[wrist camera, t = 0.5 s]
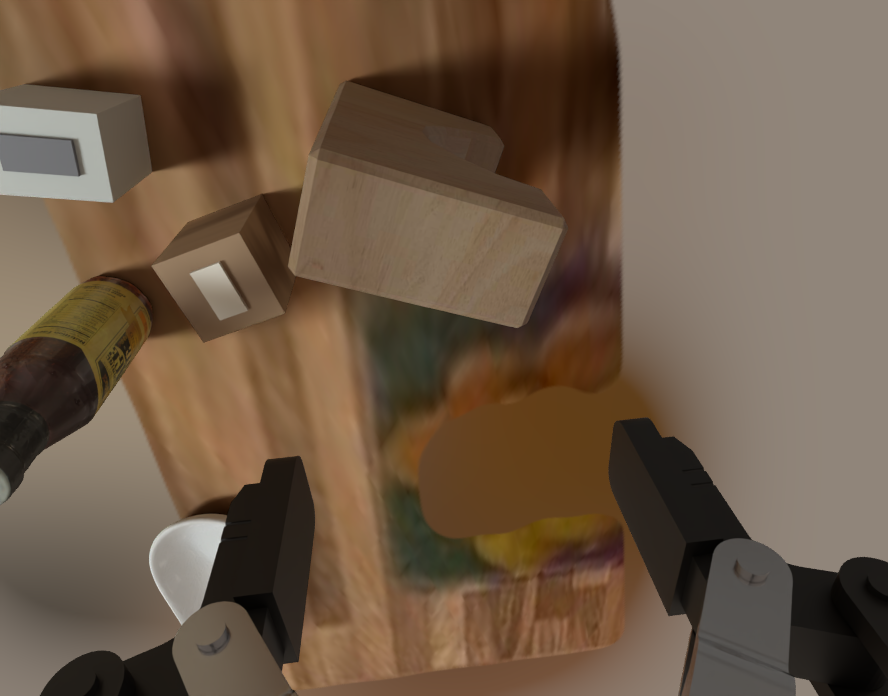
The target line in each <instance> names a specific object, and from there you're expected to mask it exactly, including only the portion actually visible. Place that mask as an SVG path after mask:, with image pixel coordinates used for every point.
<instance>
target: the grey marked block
mask: <svg viewBox="0 0 888 696" xmlns="http://www.w3.org/2000/svg"><path fill="white" fill-rule="evenodd" d="M150 173H152V166H151V160H150V153H149V147H148V140H147V134H146V127H145V121H144V114H143V108H142V101H141V95H134V94H123V93H113V92H102V91H91V90H81V89H70V88H60V87H49V86H38V85H28V84H24V85H20V86H16V87H12V88H8V89H4V90H0V194H1V195H15V196H30V197H43V198H57V199H71V200H85V201H100V202H115V201H116V200H117V199H118V198H120V197H121V196H122V195H123V194H125V193H126V192H127V191H129V190H130V189H131V188H132V187H134V186H135V185H136V184H138V183H139V182H140V181H141V180H143V179H144V178H145V177H146V176H148V175H149V174H150Z"/></svg>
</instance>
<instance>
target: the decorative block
mask: <svg viewBox="0 0 888 696" xmlns="http://www.w3.org/2000/svg"><path fill="white" fill-rule="evenodd" d="M503 148H504V144H503V142H502V140H501V139H500V138H499V136H498V135H497V134H496V133H495V131H494V130H493V129H492V128H491V127H490V126H487V125H484V124H481V123H478V122H475V121H472V120H469V119H465V118H462V117H459V116H456V115H453V114H450V113H447V112H443V111H440V110H437V109H434V108H431V107H428V106H425V105H422V104H418V103H415V102H412V101H409V100H406V99H403V98H400V97H396V96H393V95H390V94H387V93H384V92H381V91H378V90H374V89H371V88H368V87H365V86H362V85H359V84H356V83H352V82H349V81H345V82H343V83H342V84H340V85H339V88H338V90H337V92H336V95H335V97H334V99H333V101H332V103H331V106H330V108H329V110H328V112H327V115H326V117H325V119H324V122H323V124H322V126H321V129H320V131H319V133H318V135H317V138H316V140H315V142H314V144H313V146H312V149H311V151H310V153H309V157H308V162H307V167H306V173H305V178H304V183H303V188H302V194H301V199H300V204H299V210H298V215H297V220H296V226H295V231H294V236H293V242H292V247H291V252H290V257H289V263H288V267H289V269H290V270H291V271H292V273H293V274H294V275H295V276H298V277H302V278H306V279H310V280H315V281H319V282H323V283H327V284H331V285H336V286H340V287H344V288H348V289H352V290H357V291H361V292H365V293H369V294H374V295H378V296H382V297H386V298H390V299H395V300H399V301H403V302H407V303H412V304H416V305H420V306H424V307H429V308H433V309H437V310H442V311H446V312H450V313H455V314H459V315H463V316H467V317H472V318H476V319H480V320H485V321H489V322H493V323H498V324H502V325H506V326H511V327H515V328H518V327H520V326H523V325H525V324H527V322H528V320H529V318H530V315H531V313H532V311H533V309H534V306H535V304H536V302H537V299H538V297H539V295H540V292H541V290H542V288H543V285H544V283H545V281H546V279H547V276H548V274H549V272H550V269H551V267H552V265H553V262H554V260H555V258H556V255H557V253H558V251H559V249H560V246H561V244H562V242H563V239H564V237H565V235H566V232H567V230H568V227H567V224H566V222H565V220H564V218H563V216H562V215H561V214H560V213H559V211H558V210H557V209H556V208H555V206H554V205H553V204H552V203H551V201H550V200H549V199H548V198H547V196H546V195H545V194H544V193H543V191H542V190H541V189H538V188H535V187H532V186H529V185H527V184H524V183H521V182H518V181H515V180H512V179H509V178H506V177H504V176H501V175H498V174H495V171H496V168H497V166H498V163H499V160H500V157H501V154H502V151H503Z"/></svg>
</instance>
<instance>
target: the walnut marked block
mask: <svg viewBox="0 0 888 696" xmlns="http://www.w3.org/2000/svg"><path fill="white" fill-rule="evenodd" d="M290 252H291V248H290V246H289V244H288V243H287V241H286V239H285V237H284V235H283V233H282V231H281V229H280V227H279V225H278V223H277V222H276V220H275V218H274V216H273V214H272V212H271V210H270V208H269V206H268V204H267V203H266V201H265V199H264V197H263V195H262V194H260V195H258V196H255V197H253V198H250V199H247V200H245V201H242V202H239V203H237V204H234V205H232V206H229V207H226V208H224V209H221V210H218V211H216V212H213V213H211V214H208V215H205V216H203V217H200V218H198V219H195V220H192V221H190V222H188V223H187V224H186V225H185V226H184V227H183V229H182V230H181V231H180V232H179V233H178V235H177V236H176V237H175V238H174V239H173V241H172V242H171V243H170V244H169V245H168V247H167V248H166V249H165V250H164V251H163V252H162V254H161V255H160V256H159V257H158V258H157V260H156V261H155V262H154V263H153V264H152V268H153V269H154V271H155V272H156V273H157V275H158V276H159V278H160V279H161V281H162V282H163V284H164V285H165V287H166V288H167V290H168V291H169V293H170V294H171V295H172V297H173V298H174V300H175V301H176V303H177V304H178V306H179V307H180V309H181V310H182V312H183V313H184V315H185V316H186V317H187V319H188V320H189V322H190V323H191V325H192V326H193V328H194V329H195V331H196V332H197V334H198V335H199V337H200V338H201V340H202V341H203V342H207V341H210V340H212V339H215V338H218V337H221V336H224V335H226V334H229V333H232V332H235V331H238V330H240V329H243V328H246V327H249V326H251V325H254V324H257V323H260V322H263V321H265V320H268V319H271V318H274V317H277V316H279V315H282V314H285V312H286V309H287V305H288V302H289V298H290V295H291V292H292V288H293V285H294V282H295V278H296V276H295V275H294V274H293V273H292V271H291V270H290V269H289V267H288V263H289V257H290Z"/></svg>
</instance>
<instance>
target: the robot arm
mask: <svg viewBox="0 0 888 696" xmlns="http://www.w3.org/2000/svg"><path fill="white" fill-rule="evenodd" d="M609 480H610V485H611V488H612V492H613V494H614V496H615V499H616V501H617V503H618V505H619V508H620V510H621V512H622V514H623V516H624V519H625V521H626V523H627V525H628V527H629V530H630V532H631V534H632V536H633V538H634V541H635V543H636V545H637V547H638V549H639V552H640V554H641V556H642V558H643V560H644V562H645V565H646V567H647V569H648V572H649V574H650V576H651V578H652V580H653V582H654V585H655V587H656V589H657V591H658V593H659V596H660V598H661V600H662V602H663V605H664V607H665V609H666V611H667V613H668V616H673V615H681V614H686V615H687V617H688V619H689V621H690V623H691V625H692V630H691V633H690V638H689V643H688V648H687V653H686V658H685V664H684V668H683V673H682V678H681V683H680V689H679V693H678V696H796V695H795V694H796V685H795V678H794V677H796V678H802V679H806V680H809V681H810V682H811V684H812V685H813V687H814V689H815V690H816V692H817V694H818V695H819V696H888V562H885V561H882V560H879V559H875V558H868V557H857V558H852V559H850V560H847V561H846V562H845V563H844V564H843V565H842V566H841V568H840V570H839V572H838V573H836V572H830V571H824V570H817V569H811V568H804V567H799V566H794V565H791V564H787V563H786V562H785V561H784V560H783V558H782V557H781V556H779V554H777V553H776V552H775V551H774V550H772V549H771V548H769V547H767V546H765V545H764V544H761V543H759V542H756V541H753V540H752V539H751V538H750V537H749V535H748V534H747V533H746V531H745V530H744V528H743V526H742V525H741V523H740V522H739V521H738V519H737V517H736V516H735V514H734V513H733V511H732V510H731V508H730V507H729V505H728V504H727V502H726V501H725V499H724V498H723V496H722V495H721V493H720V492H719V490H718V489H717V487H716V486H715V485H713V481H712V480H711V478H710V477H709V475H708V474H707V472H706V471H704V468H703V466H702V465H701V463H700V462H699V460H698V459H697V457H696V456H695V454H694V452H693V451H692V450H691V449H689V448H688V447H687V446H686V445H684V444H683V443H682V442H680V441H679V440H677V439H676V438H675V437H665V438H662V437H661V435H660V434H659V432H658V431H657V429H656V427H655V426H654V424H653V422H652V421H651V420H650V419H649V418H638V419H630V420H620V421H616V422H615V423H614V427H613V436H612V443H611V452H610V460H609ZM314 529H315V511H314V503H313V499H312V495H311V492H310V488H309V484H308V481H307V477H306V473H305V470H304V466H303V462H302V459H301V457H300V456H294V457H285V458H277V459H268V460H267V461H266V462H265V465H264V469H263V473H262V477H261V482H260V483H256V484H248V485H244V487H243V488H242V489H241V491H240V492H239V493H238V494H237V496H236V497H235V498H234V500H233V501H232V502H231V504H230V508H229V511H228V515H227V518H226V522H225V527H224V529H223V532H222V536H221V543H219V546H218V550H217V553H216V557H215V560H214V564H213V567H212V571H211V574H210V578H209V581H208V585H207V588H206V592H205V595H204V599H203V602H202V605H201V607H200V609H199V610H198V611H196V612H195V613H194V614H192V615H191V616H190V617H189V618H188V619H187V620H186V621H185V622H184V623H183V624H182V626H181V627H180V629H179V630H178V632H177V634H176V636H175V637H174V638H173V639H171V640H169V641H168V642H166V643H164V644H162V645H160V646H158V647H155V648H153V649H151V650H148V651H146V652H143V653H141V654H139V655H136V656H134V657H132V658H130V659H127V660H125V661H122V660H121V659H120V657H119V656H118V655H116V654H115V653H113V652H110V651H95V652H90V653H87V654H84V655H82V656H80V657H78V658H76V659H75V660H73V661H71V662H69V663H68V664H67V665H65V666H64V667H63V668H61V669H60V670H59V671H58V672H57V673H56V674H55V675H54V676H53V677H52V678H51V680H50V681H49V682H48V683H47V685H46V686H45V688H44V690H43V691H42V693H41V695H40V696H298V695H297V693H296V692H295V691H294V690H292V689H291V687H290V686H289V684H288V682H287V681H286V679H285V677H284V675H283V674H282V667H283V664H286V663H293V662H299V654H300V645H301V637H302V629H303V620H304V612H305V604H306V596H307V587H308V579H309V571H310V562H311V554H312V546H313V538H314Z"/></svg>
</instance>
